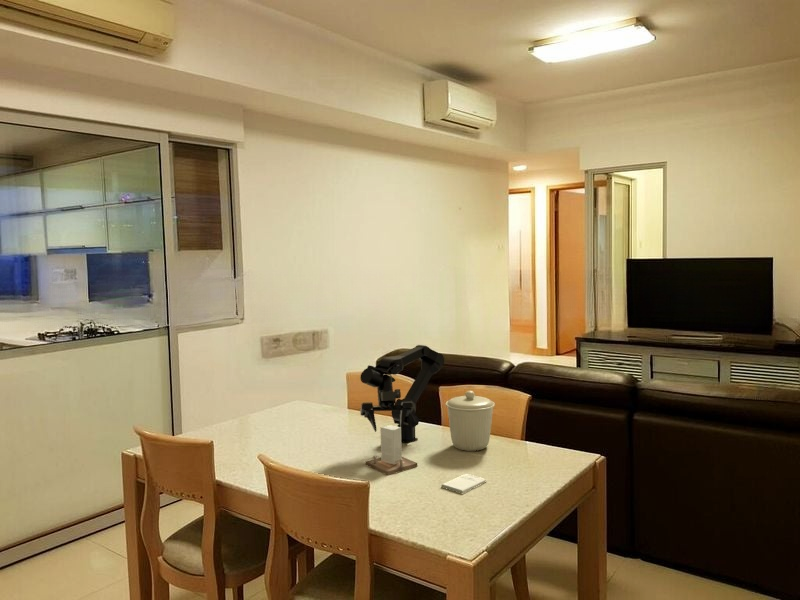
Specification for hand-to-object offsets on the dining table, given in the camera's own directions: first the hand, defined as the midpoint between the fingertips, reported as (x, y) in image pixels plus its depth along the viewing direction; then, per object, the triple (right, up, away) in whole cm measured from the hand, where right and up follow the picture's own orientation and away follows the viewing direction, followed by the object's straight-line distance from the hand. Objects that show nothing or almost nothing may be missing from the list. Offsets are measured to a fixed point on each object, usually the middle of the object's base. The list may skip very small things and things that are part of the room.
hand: (388, 430), depth 216 cm
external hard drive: (+24, -12, -26) cm, 38 cm away
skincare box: (+1, -9, -8) cm, 12 cm away
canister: (+30, -8, +10) cm, 33 cm away
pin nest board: (+1, -10, -8) cm, 13 cm away
